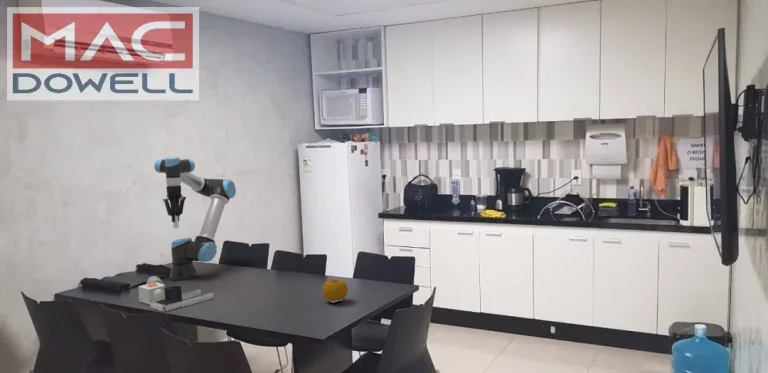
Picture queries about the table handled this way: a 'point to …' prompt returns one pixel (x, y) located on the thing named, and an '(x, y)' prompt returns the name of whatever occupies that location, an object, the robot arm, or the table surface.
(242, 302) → the table surface
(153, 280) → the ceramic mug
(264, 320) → the table surface
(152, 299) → the cabinet
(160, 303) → the rail
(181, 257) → the robot arm
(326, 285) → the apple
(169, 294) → the box
